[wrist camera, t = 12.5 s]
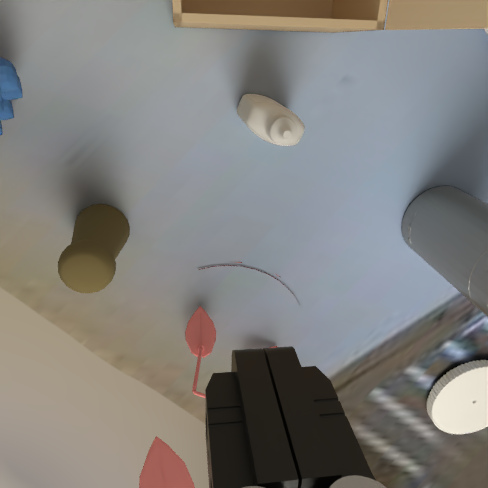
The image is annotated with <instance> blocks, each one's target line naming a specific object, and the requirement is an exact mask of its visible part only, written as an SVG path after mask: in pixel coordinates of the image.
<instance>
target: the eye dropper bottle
mask: <svg viewBox="0 0 488 488" xmlns="http://www.w3.org/2000/svg"><path fill="white" fill-rule="evenodd" d="M237 114H238V115H239V117H240V118H241V119H242V120H243V122H244V123H245V124H246V125H247V126H248V128H249V129H250V130H251V131H252V132H253V133H255V134H256V135H257V136H258V137H260V138H261V139H263V140H265V141H267V142H269V143H272V144H275V145H281V146H293V145H296V144H297V143H298V142H299V141H300V139H301V137H302V135H303V132H304V129H305V126H304V124H303V122H302V121H301V120H300V119H299V118H298V116H296V115H295V114H294V113H293V112H292V111H290V110H289V109H287V108H285V107H284V106H282V105H281V104H279V103H278V102H276V101H274V100H273V99H270V98H268V97H266V96H262V95H258V94H245V95H243V97H242V98H241V100H240V103H239V105H238V108H237Z"/></svg>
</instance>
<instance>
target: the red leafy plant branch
mask: <svg viewBox="0 0 488 488" xmlns="http://www.w3.org/2000/svg"><path fill="white" fill-rule="evenodd" d="M238 263H242V262H238ZM220 266H227V265H220ZM228 266H236V265H228ZM211 267H215V266H211ZM242 267H244V266H242ZM207 268H209V267H207ZM247 268H249V267H247ZM202 269H205V268H202ZM251 269H254V268H251ZM199 270H200V269H199ZM256 270H257V269H256ZM258 271H259V270H258ZM261 272H262V271H261ZM264 273H265V272H264ZM266 274H267V273H266ZM268 275H269V274H268ZM270 276H271V275H270ZM277 276H278V275H277ZM279 277H280V276H279ZM273 278H274V277H273ZM275 279H276V278H275ZM277 280H278V279H277ZM278 281H279V280H278ZM282 284H283V283H282ZM283 285H284V284H283ZM290 292H291V291H290ZM185 334H186V341H187V344H188V346H189V348H190V350H191V353H192V354H194V355H195V356H197V357H198V361H197V367H196V372H195V378H194V384H193V390H192V392H194V393H193V394H195V395H198V396H201V397H204V398H206V395H205V394H203V393H200V392H197V391H196V386H197V380H198V374H199V368H200V361H201V356H202V357H203V358H204V357H206V356H207V355H209V354H210V353H211V351H212V349H213V346H214V343H215V341H216V330H215V327H214V324H213V321H212V320H211V319H210V317H209V316H208V314H207V313H206V312H205V311H204V310H203V308H202V307H201V306H200V307H199V308H198V309H197V310H196V311H195V313H194V314H193V316H192V317H191V319H190V320H189V322H188V325H187V328H186V332H185ZM276 347H277V346H274V347H269V348H276ZM139 488H195V487H194V483H193V481H192V479H191V477H190V474H189V472H188V470H187V467H186V465H185V463H184V461H183V460H182V459H181V458H180V457H179V456H178V455H177V454H176V453H175V452H174V451H173V450H172V449H171V448H170V447H169V446H168V445H167V444H166V443H165V442H163V441H162V440H161V439H159V438H158V437H155V440H154V441H153V443H152V445H151V447H150V450H149V452H148V455H147V458H146V461H145V463H144V466H143V469H142V472H141V475H140V483H139Z"/></svg>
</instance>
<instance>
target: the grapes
mask: <svg viewBox="0 0 488 488" xmlns="http://www.w3.org/2000/svg"><path fill="white" fill-rule="evenodd" d="M18 98H22V88H21V83H20V79H19V77H18V76H17V73H16V69H15V67H14V66H13V64H12V63H11V62H10V61H8V60H6V59H3V58H0V135H2V125H1V120H7V119H11V118H14V115H13V107H12V103H11V100H13V99H18Z"/></svg>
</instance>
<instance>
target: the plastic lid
mask: <svg viewBox="0 0 488 488" xmlns="http://www.w3.org/2000/svg"><path fill="white" fill-rule="evenodd" d="M428 397H429V398H427V400H428V401H427V404H426V405H427V411H428V414H429V416H430V418H431V419H432V421H433V422H434V424H435V425H436V426H437V427H438V428H439V429H440V430H443V431H445V432H446V433H447V432H448V433H451V434H464V433H465V434H467V433H471V432H472V433H473V432H474V431H478V430H481V429H482V428H483V429H484V428H485V427H488V360H487V361H486V360H480V361H479V360H476V361H472V362H469V363H465V364H461V366H457V367H456V368H453V370H450V372H447V373H446V375H443V377H441V378H440V380H438V382H437V383H435V386H433V389H431V392H430V395H428Z"/></svg>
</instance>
